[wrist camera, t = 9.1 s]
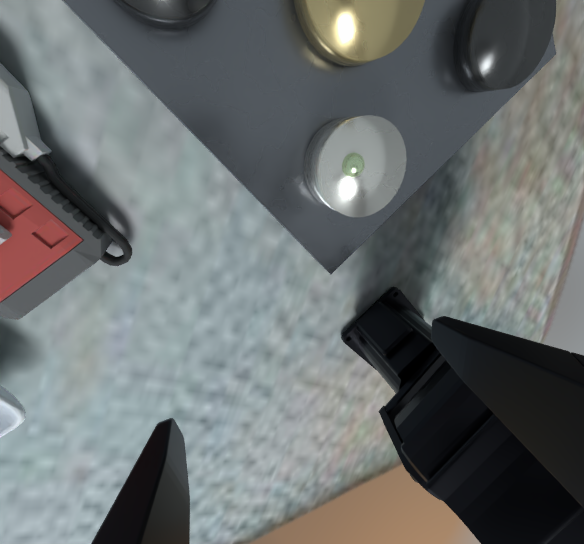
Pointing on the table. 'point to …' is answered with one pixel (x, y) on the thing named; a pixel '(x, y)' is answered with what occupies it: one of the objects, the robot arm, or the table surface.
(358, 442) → the table surface
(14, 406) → the salad plate
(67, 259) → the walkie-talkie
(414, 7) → the brass knob
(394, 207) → the instrument base
